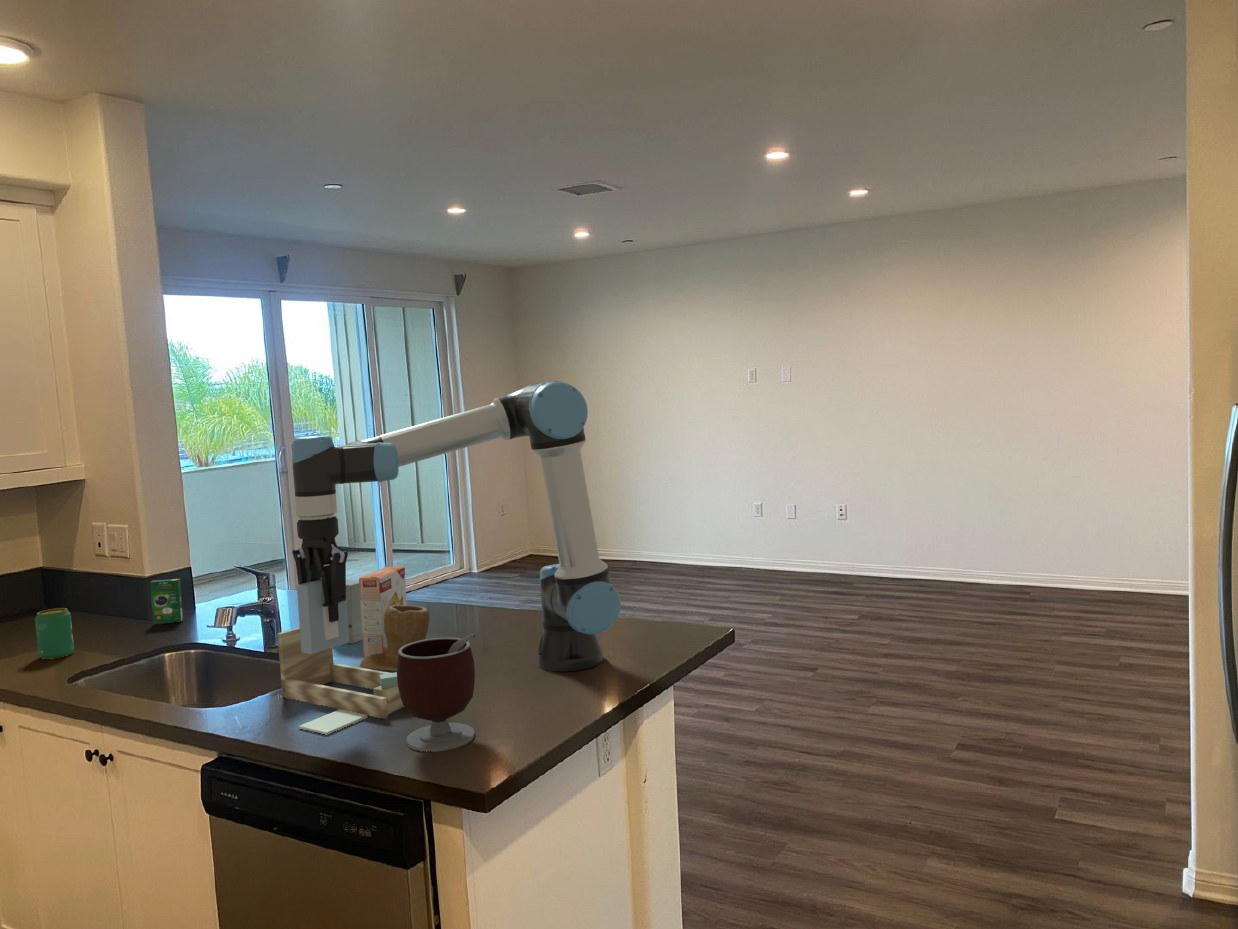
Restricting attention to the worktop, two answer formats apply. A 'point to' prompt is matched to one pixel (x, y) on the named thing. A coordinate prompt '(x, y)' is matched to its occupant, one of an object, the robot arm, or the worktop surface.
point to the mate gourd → (437, 690)
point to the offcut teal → (388, 680)
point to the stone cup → (399, 635)
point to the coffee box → (166, 601)
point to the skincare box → (354, 611)
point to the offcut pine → (388, 693)
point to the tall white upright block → (318, 619)
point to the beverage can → (54, 633)
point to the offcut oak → (394, 705)
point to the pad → (333, 721)
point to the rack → (326, 679)
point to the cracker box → (379, 605)
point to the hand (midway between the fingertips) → (325, 636)
